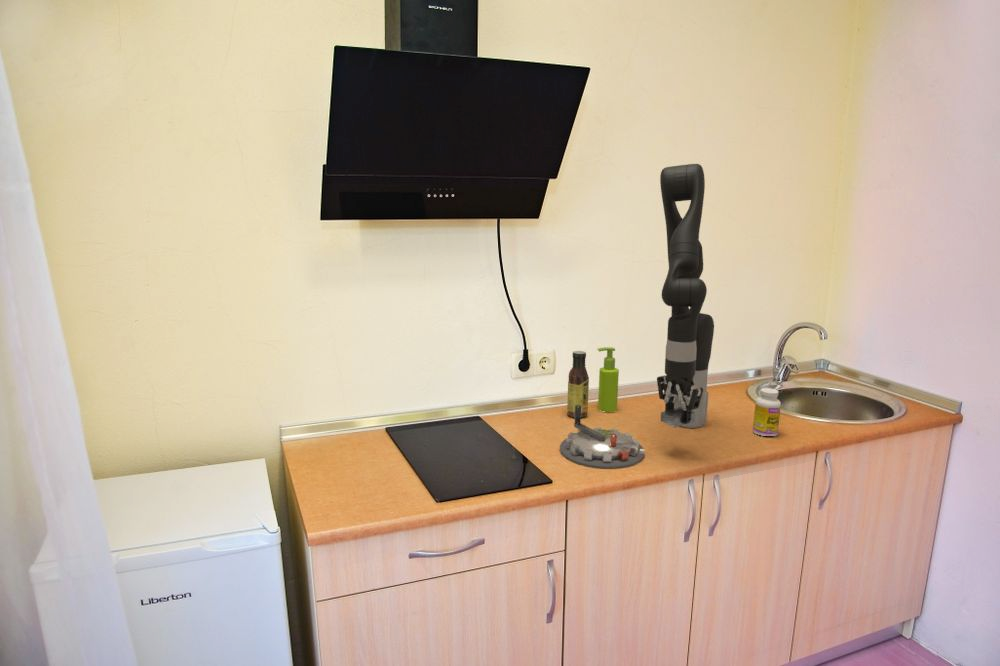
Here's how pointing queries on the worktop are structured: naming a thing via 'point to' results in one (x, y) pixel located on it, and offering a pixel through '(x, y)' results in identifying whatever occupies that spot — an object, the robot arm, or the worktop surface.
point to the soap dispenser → (608, 382)
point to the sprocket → (600, 442)
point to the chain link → (675, 417)
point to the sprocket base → (599, 462)
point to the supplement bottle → (767, 413)
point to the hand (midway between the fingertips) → (677, 419)
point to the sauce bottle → (578, 385)
